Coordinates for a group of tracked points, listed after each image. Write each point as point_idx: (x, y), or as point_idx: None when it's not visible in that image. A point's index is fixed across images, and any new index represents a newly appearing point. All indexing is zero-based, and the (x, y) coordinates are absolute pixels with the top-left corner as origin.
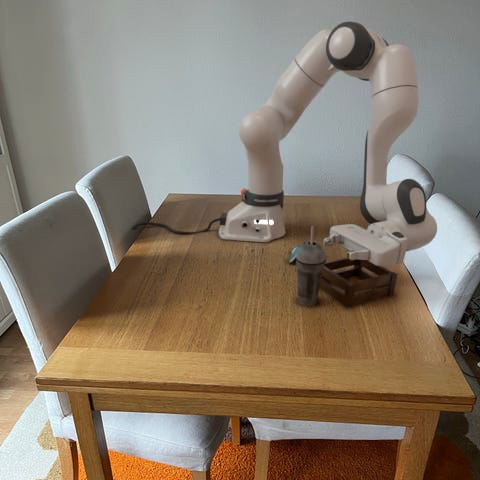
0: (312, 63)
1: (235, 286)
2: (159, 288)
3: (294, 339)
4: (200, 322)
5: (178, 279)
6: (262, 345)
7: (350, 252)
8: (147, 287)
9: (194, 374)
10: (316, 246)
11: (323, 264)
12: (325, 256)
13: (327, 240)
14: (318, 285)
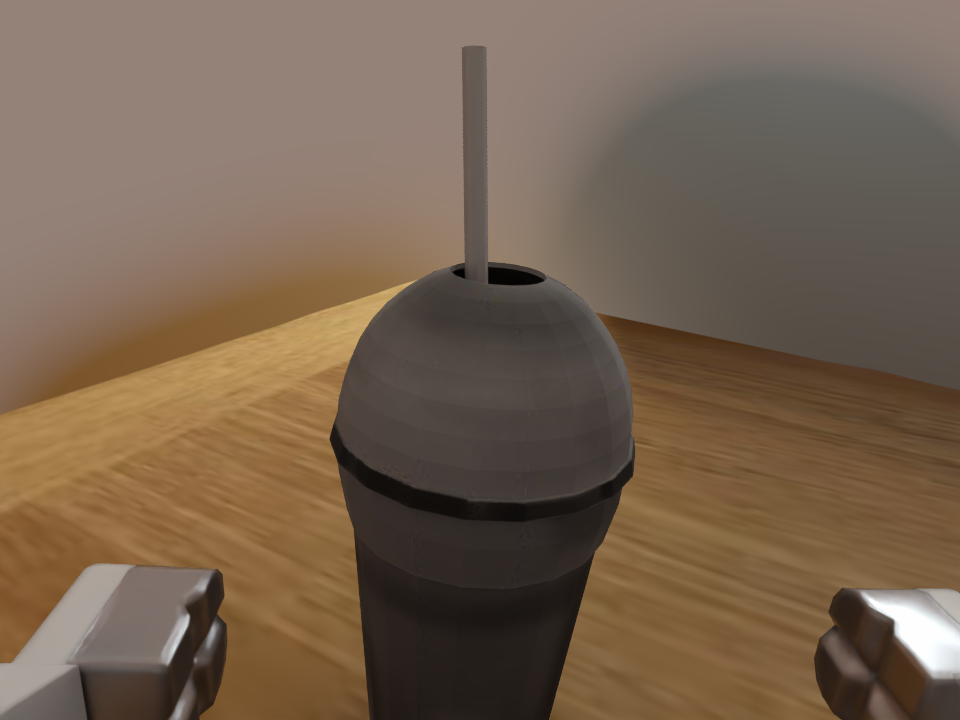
0: None
1: (766, 542)
2: (757, 398)
3: (158, 525)
4: None
5: (839, 439)
6: (230, 449)
7: (142, 571)
8: (766, 386)
9: (254, 345)
10: (426, 281)
11: (347, 478)
12: (375, 432)
13: (856, 590)
14: (368, 659)
